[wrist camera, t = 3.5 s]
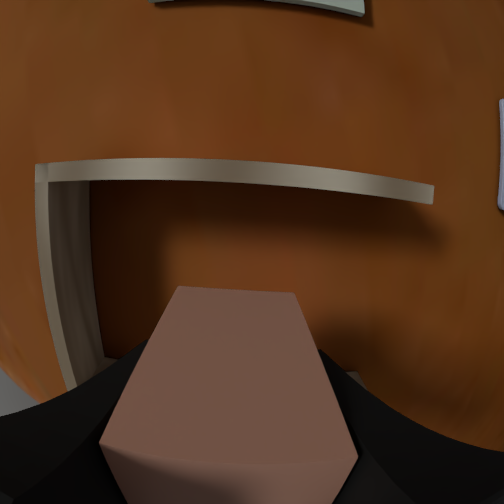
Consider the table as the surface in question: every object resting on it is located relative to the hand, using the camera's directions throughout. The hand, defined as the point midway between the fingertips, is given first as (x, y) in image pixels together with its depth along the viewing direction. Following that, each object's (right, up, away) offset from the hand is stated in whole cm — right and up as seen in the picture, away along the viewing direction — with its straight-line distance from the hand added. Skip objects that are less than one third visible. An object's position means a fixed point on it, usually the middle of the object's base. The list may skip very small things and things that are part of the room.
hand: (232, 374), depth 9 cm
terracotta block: (0, +1, +2) cm, 2 cm away
